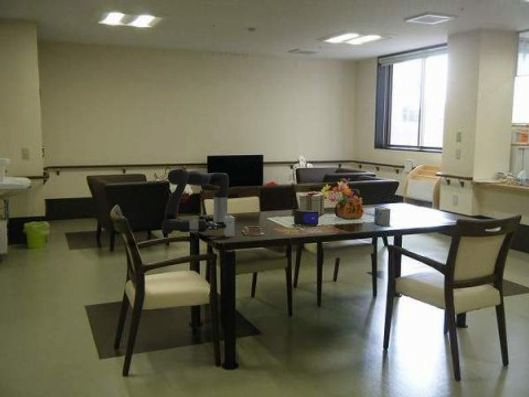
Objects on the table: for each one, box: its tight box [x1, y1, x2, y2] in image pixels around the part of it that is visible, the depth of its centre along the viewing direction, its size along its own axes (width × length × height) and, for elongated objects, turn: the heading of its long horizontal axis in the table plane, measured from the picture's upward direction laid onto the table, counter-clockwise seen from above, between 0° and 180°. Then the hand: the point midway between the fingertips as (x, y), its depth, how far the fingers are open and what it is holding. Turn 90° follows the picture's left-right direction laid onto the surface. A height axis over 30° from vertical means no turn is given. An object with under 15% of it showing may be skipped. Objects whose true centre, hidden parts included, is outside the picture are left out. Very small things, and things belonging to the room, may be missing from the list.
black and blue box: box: [293, 209, 320, 226], centre depth 350 cm, size 16×5×9 cm, turn 81°
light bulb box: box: [373, 206, 391, 226], centre depth 358 cm, size 11×7×11 cm, turn 14°
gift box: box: [298, 190, 326, 217], centre depth 392 cm, size 17×18×17 cm
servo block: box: [224, 215, 235, 238], centre depth 311 cm, size 5×5×12 cm
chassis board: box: [241, 225, 265, 237], centre depth 318 cm, size 13×11×4 cm
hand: (224, 224), depth 310 cm, fingers open, 8 cm apart
